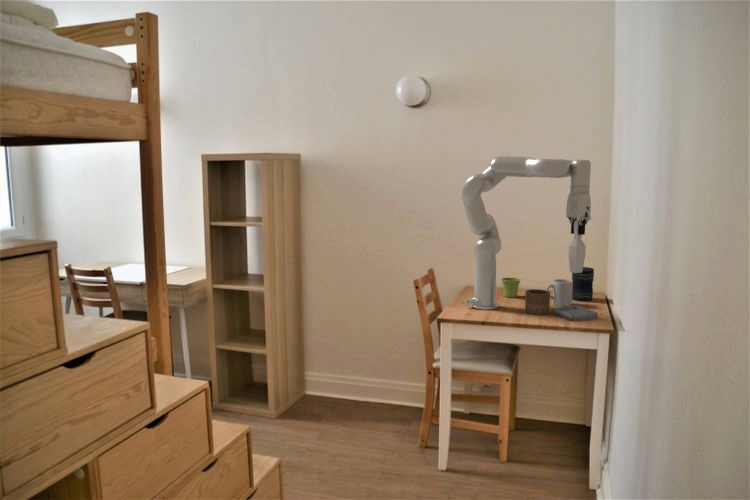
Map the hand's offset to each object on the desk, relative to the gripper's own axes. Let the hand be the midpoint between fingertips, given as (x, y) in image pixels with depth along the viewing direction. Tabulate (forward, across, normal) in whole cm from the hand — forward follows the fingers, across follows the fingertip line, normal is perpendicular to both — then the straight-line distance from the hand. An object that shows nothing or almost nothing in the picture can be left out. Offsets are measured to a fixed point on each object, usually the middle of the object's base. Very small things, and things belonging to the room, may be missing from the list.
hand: (577, 233), depth 246 cm
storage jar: (+36, -23, +25) cm, 49 cm away
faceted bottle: (+16, 0, 0) cm, 16 cm away
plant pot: (+35, -41, -3) cm, 55 cm away
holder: (+35, -11, -10) cm, 38 cm away
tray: (+35, 0, 0) cm, 35 cm away
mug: (+36, -19, +8) cm, 41 cm away
